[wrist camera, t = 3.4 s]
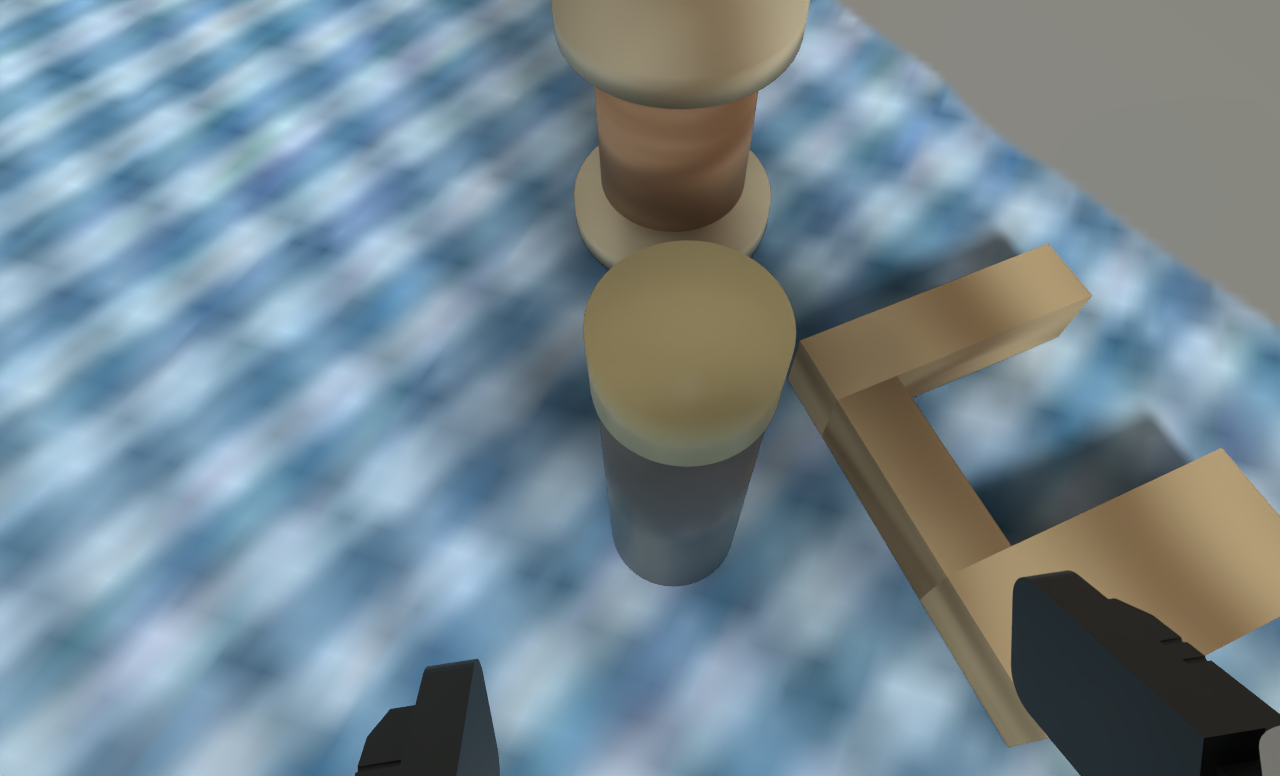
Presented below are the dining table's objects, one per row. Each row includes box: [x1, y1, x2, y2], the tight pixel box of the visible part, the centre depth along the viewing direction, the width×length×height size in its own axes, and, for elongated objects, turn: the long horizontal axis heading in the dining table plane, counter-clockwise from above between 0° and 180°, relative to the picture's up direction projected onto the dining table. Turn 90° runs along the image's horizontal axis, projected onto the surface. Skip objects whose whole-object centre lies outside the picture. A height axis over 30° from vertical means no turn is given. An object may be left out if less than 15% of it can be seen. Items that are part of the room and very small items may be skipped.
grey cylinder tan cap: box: [583, 240, 796, 586], centre depth 19 cm, size 4×4×11 cm
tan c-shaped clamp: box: [788, 244, 1280, 747], centre depth 24 cm, size 9×12×2 cm
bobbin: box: [551, 0, 810, 270], centre depth 26 cm, size 7×7×9 cm
